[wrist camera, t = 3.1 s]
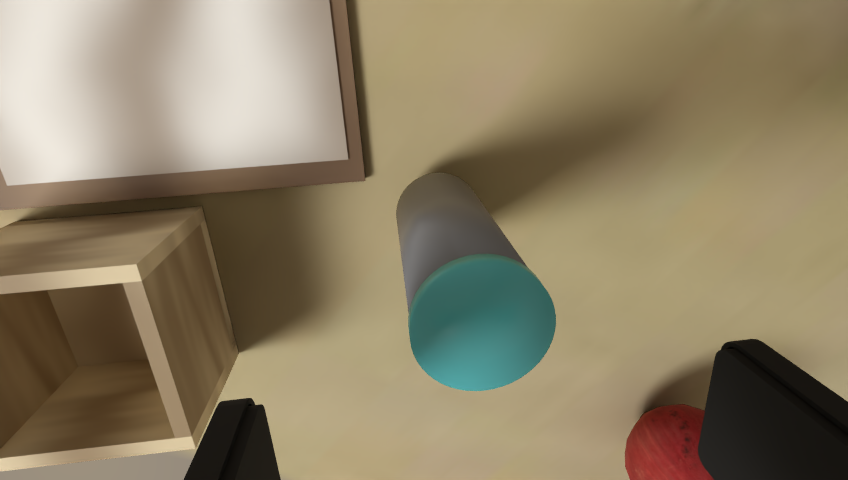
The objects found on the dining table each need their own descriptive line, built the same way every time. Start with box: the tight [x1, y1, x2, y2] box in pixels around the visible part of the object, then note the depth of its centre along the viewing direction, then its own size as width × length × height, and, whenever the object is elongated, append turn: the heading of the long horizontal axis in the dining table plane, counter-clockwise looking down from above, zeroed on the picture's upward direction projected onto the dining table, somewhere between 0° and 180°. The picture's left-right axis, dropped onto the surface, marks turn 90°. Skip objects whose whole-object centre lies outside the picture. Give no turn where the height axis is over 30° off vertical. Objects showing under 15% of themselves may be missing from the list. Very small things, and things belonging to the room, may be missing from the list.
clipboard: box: [0, 0, 365, 210], centre depth 17 cm, size 16×12×1 cm
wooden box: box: [0, 206, 239, 471], centre depth 19 cm, size 8×8×6 cm
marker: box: [396, 173, 556, 391], centre depth 16 cm, size 4×4×10 cm
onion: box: [625, 404, 714, 480], centre depth 24 cm, size 6×6×8 cm
